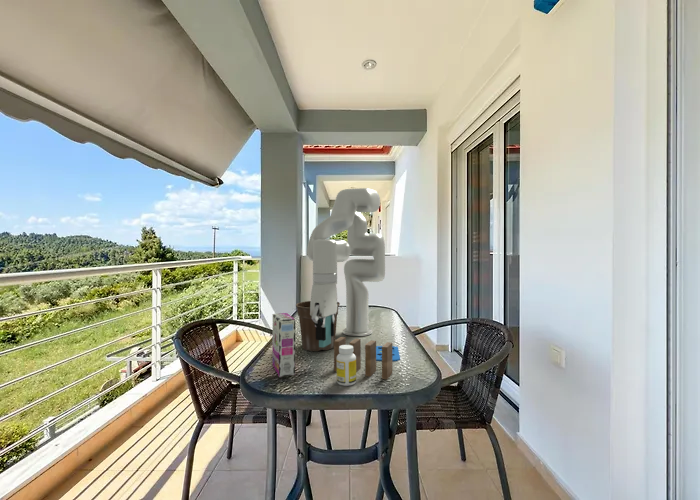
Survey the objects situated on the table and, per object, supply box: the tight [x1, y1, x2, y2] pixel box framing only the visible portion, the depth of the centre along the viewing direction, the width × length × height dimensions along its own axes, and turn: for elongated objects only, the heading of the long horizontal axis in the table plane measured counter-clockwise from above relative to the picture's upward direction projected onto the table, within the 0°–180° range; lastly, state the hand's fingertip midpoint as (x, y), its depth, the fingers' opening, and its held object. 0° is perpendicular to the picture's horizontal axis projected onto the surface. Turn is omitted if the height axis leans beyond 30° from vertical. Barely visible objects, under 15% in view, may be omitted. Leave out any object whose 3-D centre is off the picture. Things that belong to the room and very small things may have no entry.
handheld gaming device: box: [376, 345, 401, 362], centre depth 117 cm, size 8×1×15 cm
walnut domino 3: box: [364, 340, 377, 378], centre depth 99 cm, size 2×5×9 cm, turn 156°
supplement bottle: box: [336, 344, 357, 387], centre depth 93 cm, size 5×5×10 cm
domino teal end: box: [319, 315, 331, 347], centre depth 105 cm, size 2×5×9 cm, turn 156°
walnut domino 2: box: [348, 338, 362, 373], centre depth 101 cm, size 2×5×9 cm, turn 156°
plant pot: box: [295, 300, 341, 352], centre depth 125 cm, size 16×16×16 cm
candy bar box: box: [271, 312, 296, 378], centre depth 102 cm, size 11×5×16 cm, turn 23°
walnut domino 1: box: [333, 336, 347, 372], centre depth 103 cm, size 2×5×9 cm, turn 157°
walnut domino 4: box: [381, 341, 393, 380], centre depth 97 cm, size 2×5×9 cm, turn 156°
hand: (325, 337), depth 105 cm, fingers closed on domino teal end, 4 cm apart
